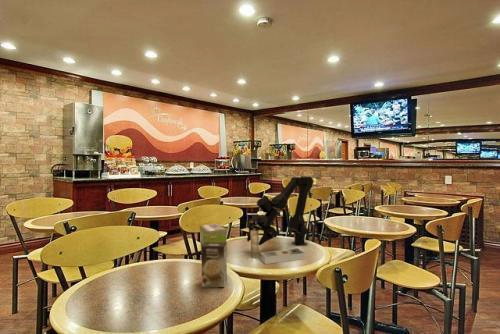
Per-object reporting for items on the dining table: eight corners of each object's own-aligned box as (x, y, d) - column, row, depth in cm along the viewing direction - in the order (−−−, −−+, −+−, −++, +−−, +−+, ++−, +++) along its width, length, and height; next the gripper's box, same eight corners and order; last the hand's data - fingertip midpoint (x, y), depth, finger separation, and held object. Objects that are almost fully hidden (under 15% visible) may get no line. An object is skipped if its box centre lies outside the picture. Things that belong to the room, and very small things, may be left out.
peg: (250, 255, 149) (249, 230, 148) (257, 254, 150) (257, 229, 150) (252, 258, 145) (251, 232, 145) (260, 257, 146) (259, 231, 146)
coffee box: (201, 287, 112) (200, 246, 112) (205, 281, 118) (204, 241, 118) (224, 288, 111) (223, 246, 111) (227, 281, 117) (226, 241, 117)
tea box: (200, 252, 156) (199, 224, 156) (218, 249, 161) (217, 222, 160) (208, 260, 143) (207, 230, 143) (227, 257, 147) (226, 228, 147)
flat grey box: (260, 258, 144) (260, 252, 144) (297, 254, 149) (297, 248, 149) (265, 263, 136) (265, 257, 136) (304, 259, 142) (304, 252, 142)
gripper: (249, 206, 157) (232, 230, 150) (273, 210, 142) (256, 237, 136) (260, 219, 162) (245, 242, 155) (284, 224, 147) (268, 250, 141)
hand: (253, 242), depth 147 cm, fingers open, 9 cm apart
